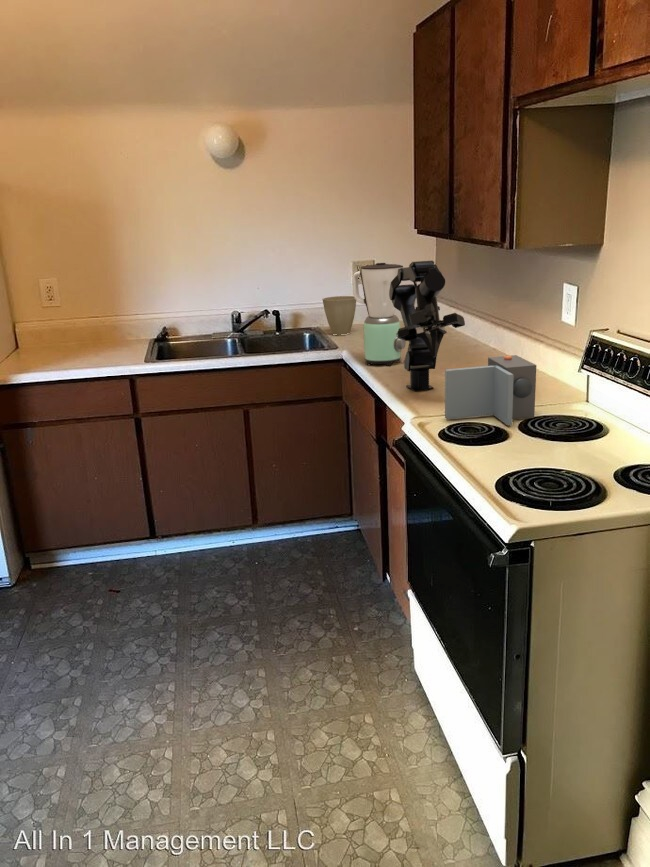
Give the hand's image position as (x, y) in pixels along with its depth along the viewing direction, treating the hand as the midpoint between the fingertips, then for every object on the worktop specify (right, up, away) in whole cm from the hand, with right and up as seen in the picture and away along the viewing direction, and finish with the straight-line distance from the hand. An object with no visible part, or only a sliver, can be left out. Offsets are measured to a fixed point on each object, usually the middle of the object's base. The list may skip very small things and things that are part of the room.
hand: (434, 356), depth 201 cm
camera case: (+19, -16, -10) cm, 27 cm away
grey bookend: (+8, -18, -17) cm, 26 cm away
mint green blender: (-11, +4, +56) cm, 57 cm away
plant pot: (-24, +22, +114) cm, 119 cm away
